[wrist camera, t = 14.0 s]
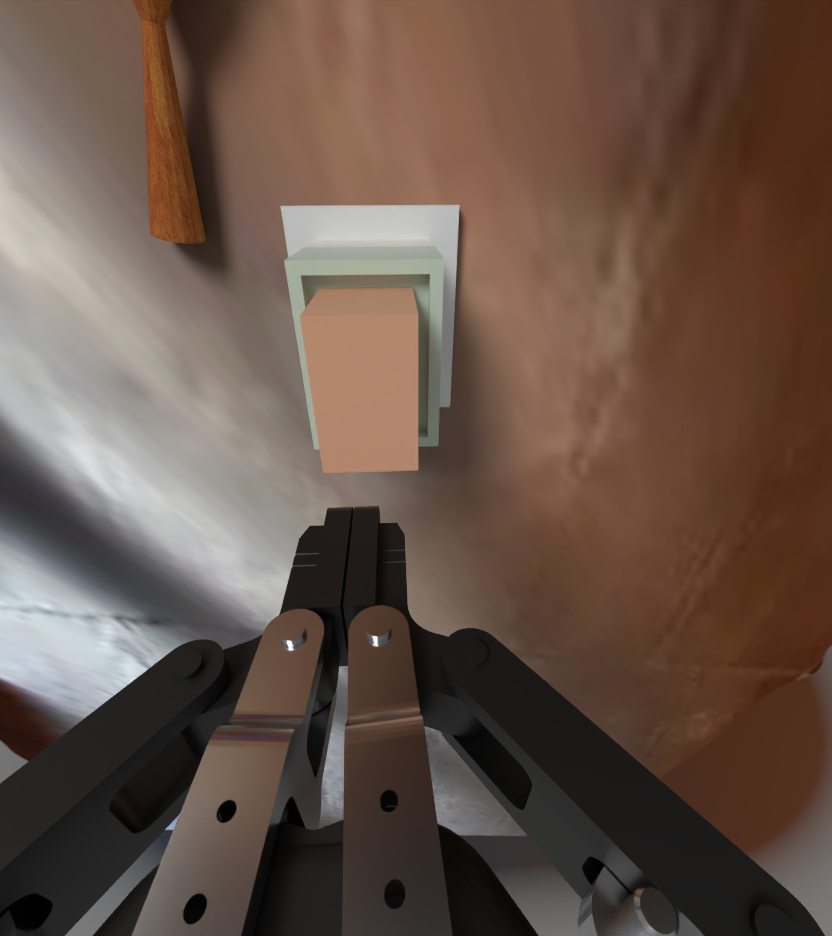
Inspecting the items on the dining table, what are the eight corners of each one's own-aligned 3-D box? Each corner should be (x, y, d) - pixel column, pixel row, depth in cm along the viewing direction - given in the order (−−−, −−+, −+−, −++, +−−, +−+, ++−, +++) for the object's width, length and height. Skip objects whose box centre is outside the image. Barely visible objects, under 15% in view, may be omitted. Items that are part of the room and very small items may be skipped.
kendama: (103, 230, 26) (-39, -430, 14) (163, 220, 31) (96, -281, 19) (196, 255, 26) (132, -384, 14) (242, 241, 31) (224, -246, 19)
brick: (413, 418, 27) (418, 470, 22) (335, 420, 27) (323, 473, 22) (412, 286, 23) (418, 314, 18) (320, 287, 23) (299, 316, 18)
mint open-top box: (448, 402, 38) (467, 470, 29) (313, 405, 37) (288, 475, 28) (457, 204, 29) (486, 212, 20) (283, 205, 29) (233, 214, 20)
